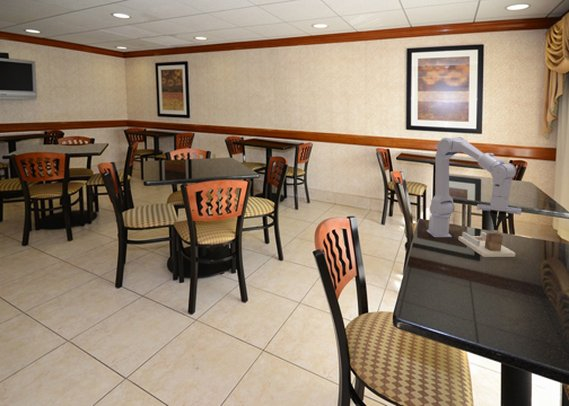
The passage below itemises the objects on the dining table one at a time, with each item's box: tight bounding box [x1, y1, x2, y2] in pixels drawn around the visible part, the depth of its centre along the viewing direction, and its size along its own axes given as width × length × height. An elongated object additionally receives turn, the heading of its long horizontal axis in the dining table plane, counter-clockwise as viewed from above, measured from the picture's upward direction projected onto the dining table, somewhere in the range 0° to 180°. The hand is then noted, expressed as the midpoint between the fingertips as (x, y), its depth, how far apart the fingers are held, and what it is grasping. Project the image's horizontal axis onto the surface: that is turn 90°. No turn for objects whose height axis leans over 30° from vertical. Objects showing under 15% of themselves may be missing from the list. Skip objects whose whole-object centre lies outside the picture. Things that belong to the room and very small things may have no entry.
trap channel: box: [457, 231, 516, 258], centre depth 144 cm, size 20×12×4 cm, turn 0°
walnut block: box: [485, 232, 504, 251], centre depth 138 cm, size 4×4×6 cm
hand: (495, 229), depth 137 cm, fingers closed
